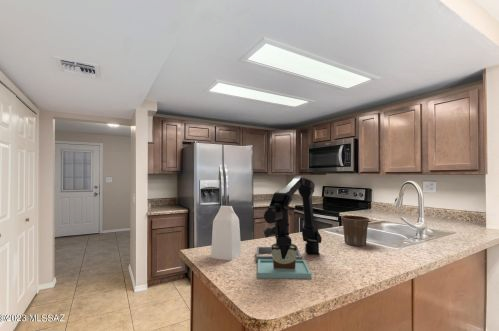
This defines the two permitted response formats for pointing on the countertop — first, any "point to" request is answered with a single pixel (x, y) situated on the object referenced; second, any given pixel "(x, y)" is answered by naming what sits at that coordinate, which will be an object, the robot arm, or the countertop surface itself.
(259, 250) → the grey rectangular frame
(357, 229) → the plant pot
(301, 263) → the tray
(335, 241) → the countertop surface
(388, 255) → the countertop surface
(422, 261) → the countertop surface
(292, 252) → the food container
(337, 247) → the countertop surface
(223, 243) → the milk
